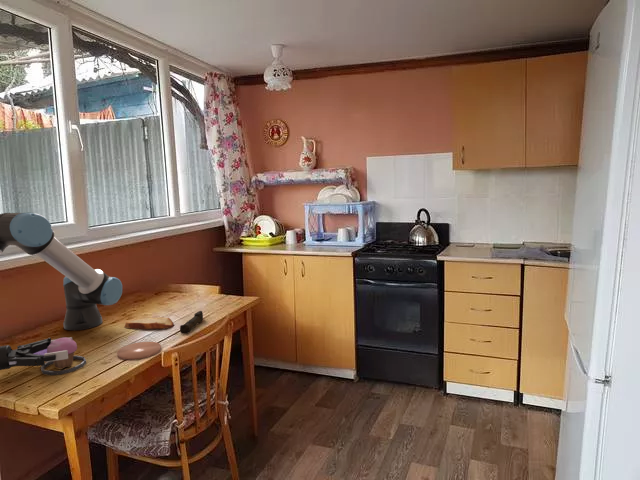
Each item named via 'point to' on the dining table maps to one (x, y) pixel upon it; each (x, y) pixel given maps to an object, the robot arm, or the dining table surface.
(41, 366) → the dark grey ring
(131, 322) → the slice of bread
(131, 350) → the plate
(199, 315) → the hand tool
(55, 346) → the cupcake
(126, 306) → the dining table surface
